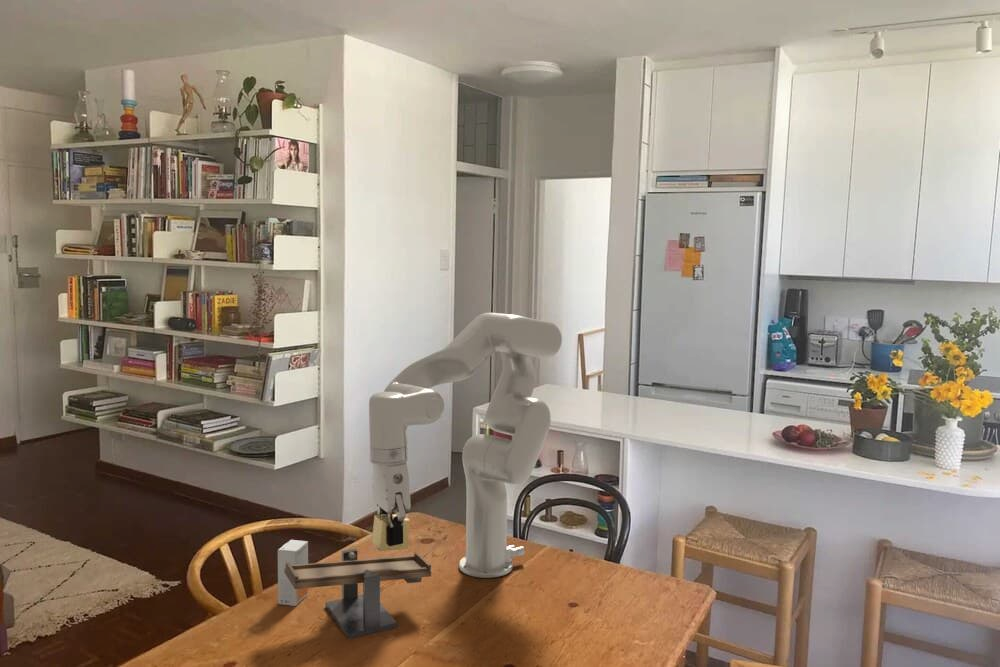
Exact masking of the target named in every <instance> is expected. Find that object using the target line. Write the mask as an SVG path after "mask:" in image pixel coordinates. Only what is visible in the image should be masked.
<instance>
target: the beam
mask: <svg viewBox="0 0 1000 667" xmlns="http://www.w3.org/2000/svg"><path fill="white" fill-rule="evenodd" d="M348 556H349V558H350V559H351V560H350V561H342V560H339V561H329V562H327V561H326V562H316V563H313V562H312V563H308V564H299V565H290V563H289V562H287V563H286V567H285V570H284V573H285V574H286V576H287V578H288V579H289V581H290V582H291V584H292V585H293V587H294V588H295V589H302V588H308V589H310V588H320V587H321V588H322V587H323V588H324V587H331V586H332V587H333V586H342V585H345V584H356V583H358V584H363V575H368V574H373V573H379V574H380V582H385V581H396V580H397V581H398V580H404V581H405V582H406V584H412V583H416V584H417V583H422V578H429V577H430V578H431V577H432V571H431V569H432V565H431V564H430V562H429V561H427V560H426V559H425V558H424V557H422V555H421V554H419V552H414V555H403V556H391V557H390V556H389V557H378V558H366V559H364V558H363V559H357V560H355V559H356V555H355V554H354V553H353V552H350V553H349V555H348Z"/></svg>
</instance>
